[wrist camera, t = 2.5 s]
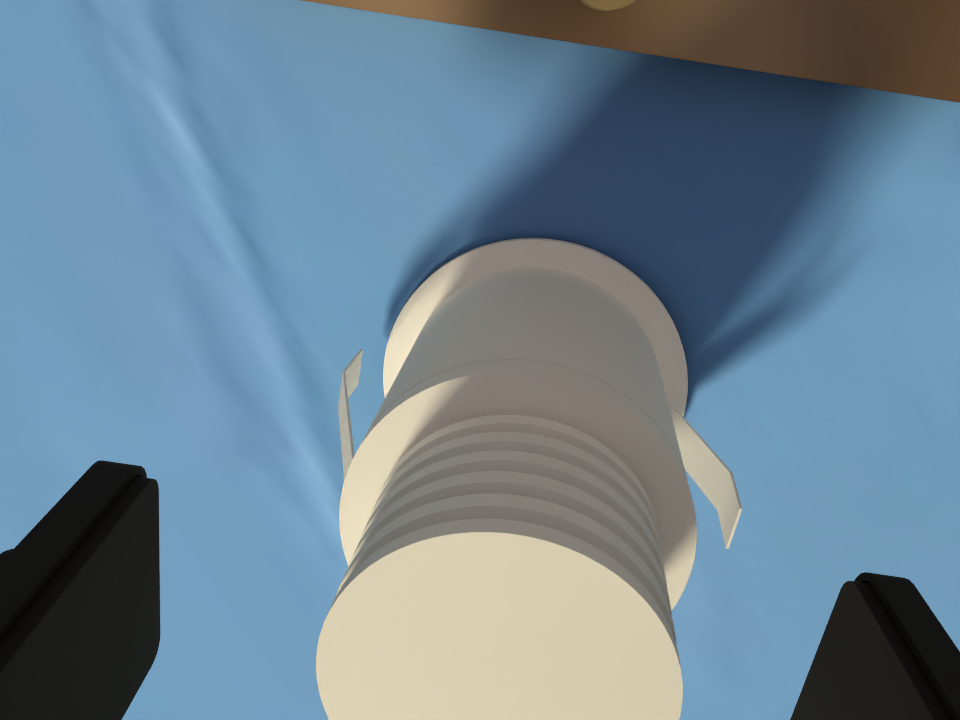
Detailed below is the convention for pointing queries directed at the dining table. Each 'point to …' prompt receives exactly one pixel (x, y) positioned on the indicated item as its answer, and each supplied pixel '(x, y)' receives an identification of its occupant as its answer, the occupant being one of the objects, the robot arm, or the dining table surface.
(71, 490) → the robot arm
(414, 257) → the dining table surface
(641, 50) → the pin board
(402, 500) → the downlight
